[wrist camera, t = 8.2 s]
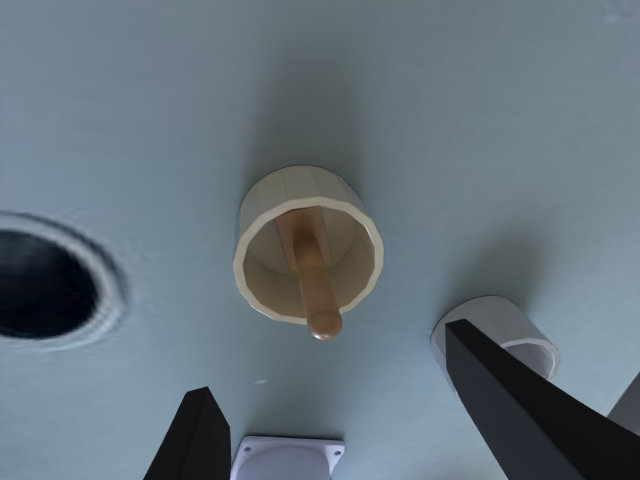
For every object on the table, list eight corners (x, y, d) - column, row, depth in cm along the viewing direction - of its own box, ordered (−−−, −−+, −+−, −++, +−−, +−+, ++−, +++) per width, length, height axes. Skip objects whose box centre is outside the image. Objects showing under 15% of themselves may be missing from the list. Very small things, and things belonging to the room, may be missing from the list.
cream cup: (337, 285, 22) (352, 332, 18) (224, 264, 20) (219, 313, 16) (380, 183, 19) (407, 218, 16) (254, 148, 17) (255, 179, 14)
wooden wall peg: (328, 249, 20) (365, 358, 13) (287, 260, 20) (305, 374, 13) (316, 195, 18) (352, 290, 12) (272, 206, 18) (283, 307, 12)
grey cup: (489, 370, 28) (520, 416, 25) (414, 361, 26) (437, 409, 23) (538, 303, 25) (581, 346, 22) (459, 288, 23) (492, 331, 20)
